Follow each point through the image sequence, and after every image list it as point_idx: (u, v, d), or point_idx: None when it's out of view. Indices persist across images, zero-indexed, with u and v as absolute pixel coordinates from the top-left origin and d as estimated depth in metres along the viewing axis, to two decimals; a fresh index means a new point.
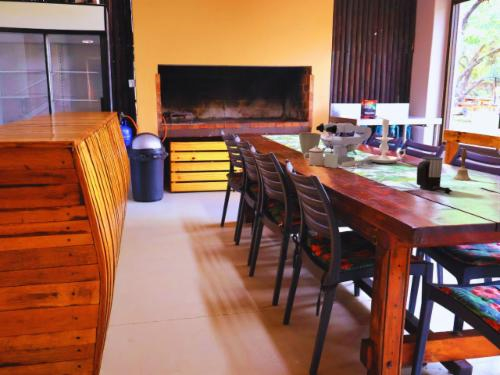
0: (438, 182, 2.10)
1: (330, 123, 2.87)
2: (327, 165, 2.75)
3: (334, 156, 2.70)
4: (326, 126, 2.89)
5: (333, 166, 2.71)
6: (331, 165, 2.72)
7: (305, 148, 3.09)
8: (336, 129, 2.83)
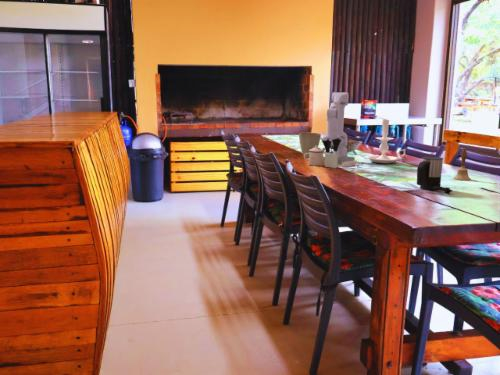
0: (438, 182, 2.10)
1: (336, 138, 2.68)
2: (327, 165, 2.75)
3: (334, 156, 2.70)
4: None
5: (333, 166, 2.71)
6: (331, 165, 2.72)
7: (305, 148, 3.09)
8: None
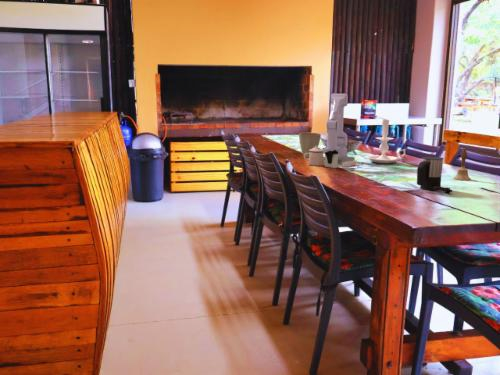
0: (438, 182, 2.10)
1: (336, 149, 2.70)
2: (327, 165, 2.75)
3: (334, 156, 2.70)
4: (330, 150, 2.70)
5: (333, 166, 2.71)
6: (331, 165, 2.72)
7: (305, 148, 3.09)
8: None
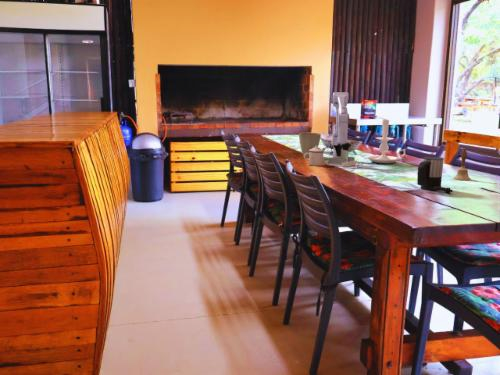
0: (439, 182, 2.10)
1: (346, 142, 2.78)
2: None
3: (345, 152, 2.78)
4: (341, 143, 2.78)
5: None
6: None
7: (305, 148, 3.09)
8: None
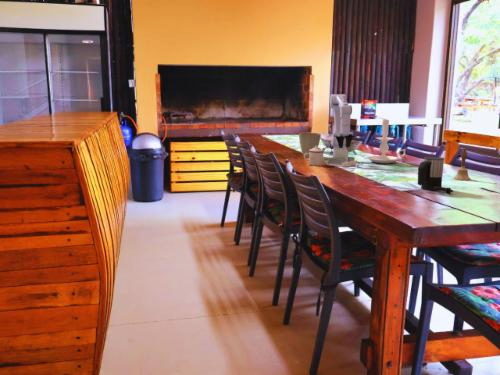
0: (439, 182, 2.10)
1: (349, 134, 2.79)
2: None
3: (345, 152, 2.78)
4: (344, 134, 2.79)
5: None
6: None
7: (305, 148, 3.09)
8: None
